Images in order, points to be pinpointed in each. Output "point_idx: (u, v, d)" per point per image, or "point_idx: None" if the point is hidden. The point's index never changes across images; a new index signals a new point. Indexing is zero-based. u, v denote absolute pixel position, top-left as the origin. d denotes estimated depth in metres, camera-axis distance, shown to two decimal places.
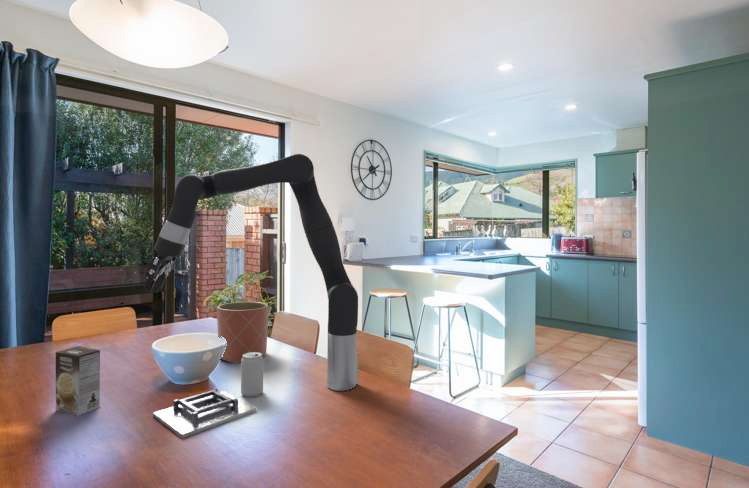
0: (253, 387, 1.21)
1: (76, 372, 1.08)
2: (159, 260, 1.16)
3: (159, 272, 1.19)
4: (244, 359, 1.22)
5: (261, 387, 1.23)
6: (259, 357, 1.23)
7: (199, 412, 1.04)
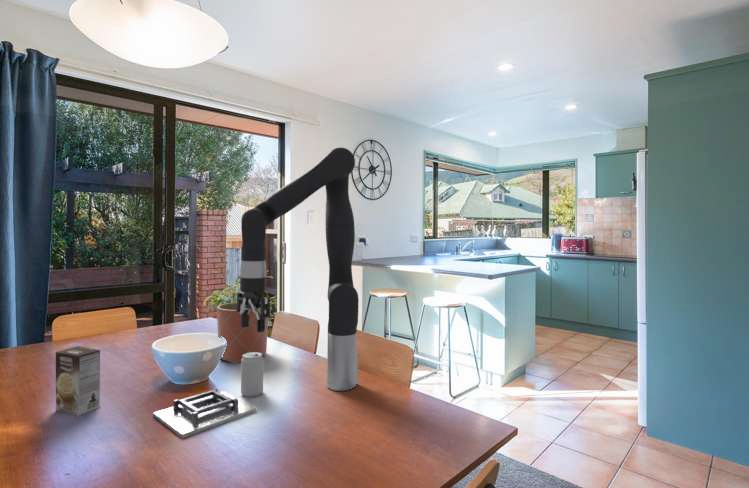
0: (253, 387, 1.21)
1: (76, 372, 1.08)
2: (268, 298, 1.20)
3: (264, 309, 1.22)
4: (244, 359, 1.22)
5: (261, 387, 1.23)
6: (259, 357, 1.23)
7: (199, 412, 1.04)
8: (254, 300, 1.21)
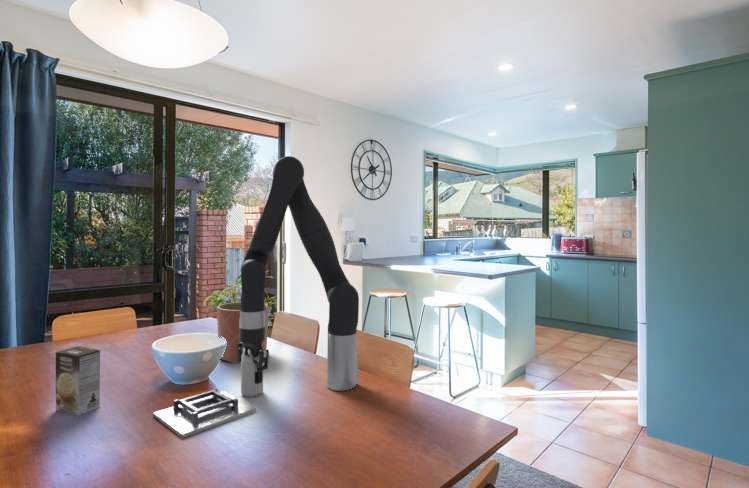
0: (253, 387, 1.21)
1: (76, 372, 1.08)
2: (267, 351, 1.20)
3: None
4: (244, 359, 1.22)
5: (261, 387, 1.23)
6: None
7: (199, 412, 1.04)
8: (253, 351, 1.22)
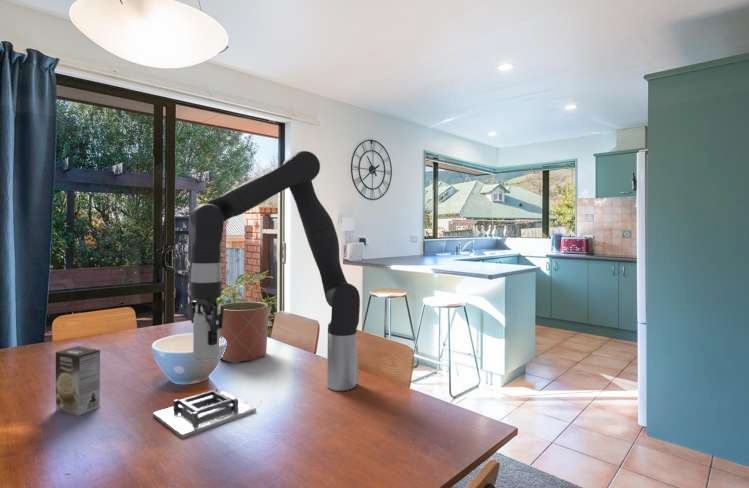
0: (206, 349, 1.07)
1: (76, 372, 1.08)
2: (221, 308, 1.06)
3: None
4: (196, 317, 1.07)
5: (216, 350, 1.09)
6: None
7: (199, 412, 1.04)
8: (206, 308, 1.07)
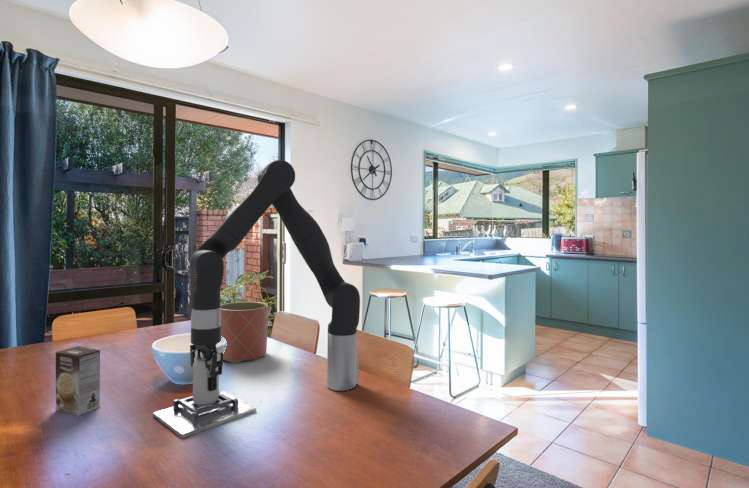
0: (206, 395, 1.07)
1: (76, 372, 1.08)
2: (221, 354, 1.06)
3: None
4: (196, 363, 1.08)
5: (216, 395, 1.09)
6: None
7: (199, 412, 1.04)
8: (206, 354, 1.07)
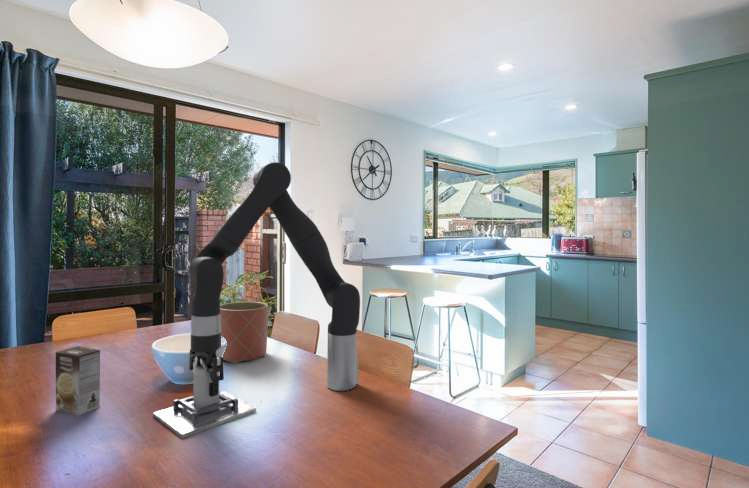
0: (206, 403, 1.07)
1: (76, 372, 1.08)
2: (221, 359, 1.06)
3: None
4: (196, 371, 1.08)
5: None
6: None
7: (199, 412, 1.04)
8: (206, 360, 1.07)
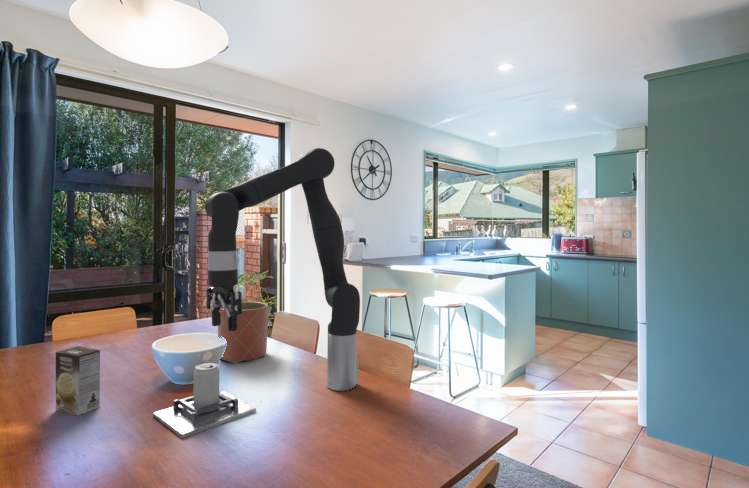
0: (206, 403, 1.07)
1: (76, 372, 1.08)
2: (239, 293, 1.06)
3: (235, 305, 1.08)
4: (196, 371, 1.08)
5: None
6: (214, 369, 1.09)
7: (199, 412, 1.04)
8: (224, 295, 1.08)
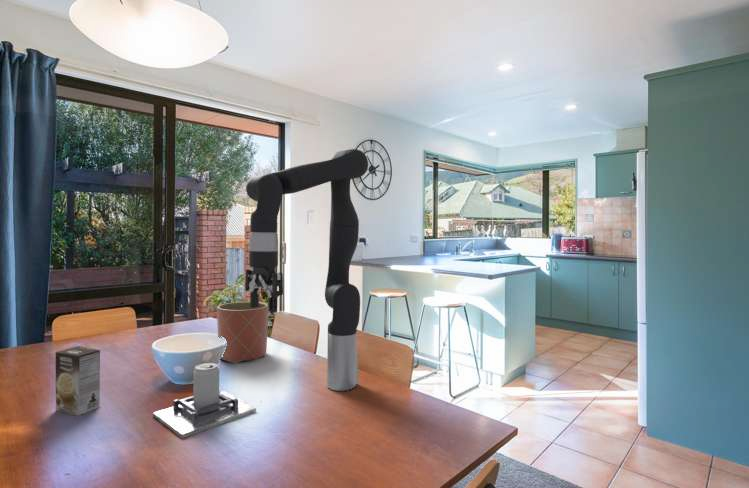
0: (206, 403, 1.07)
1: (76, 372, 1.08)
2: (281, 274, 1.07)
3: None
4: (196, 371, 1.08)
5: None
6: (214, 369, 1.09)
7: (199, 412, 1.04)
8: (265, 276, 1.08)
